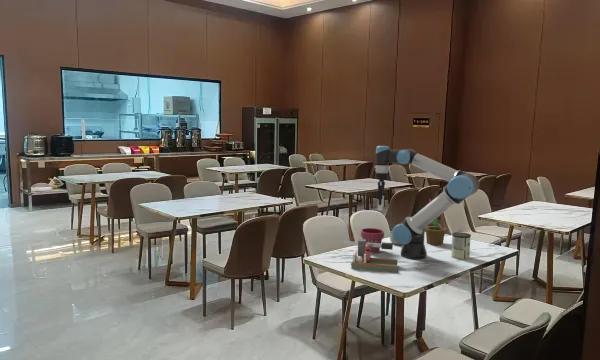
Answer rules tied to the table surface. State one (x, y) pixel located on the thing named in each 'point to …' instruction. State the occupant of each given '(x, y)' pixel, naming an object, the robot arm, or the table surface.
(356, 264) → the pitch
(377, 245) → the slider
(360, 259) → the ball
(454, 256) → the coffee can
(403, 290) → the table surface
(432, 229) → the flowerpot
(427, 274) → the table surface
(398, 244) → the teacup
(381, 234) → the plant pot
